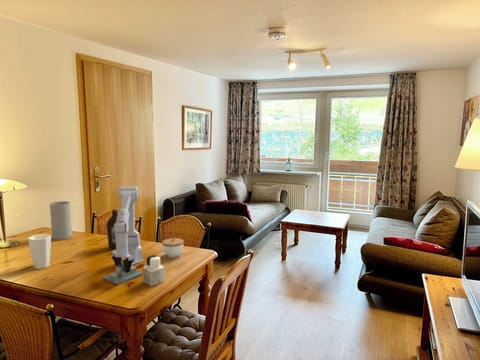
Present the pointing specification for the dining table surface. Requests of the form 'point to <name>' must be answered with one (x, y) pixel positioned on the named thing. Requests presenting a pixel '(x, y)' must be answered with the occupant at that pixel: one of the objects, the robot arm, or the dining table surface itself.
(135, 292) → the dining table surface
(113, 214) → the olive oil
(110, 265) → the dining table surface
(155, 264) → the container
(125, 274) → the box
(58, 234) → the cylinder vase
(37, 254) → the cup
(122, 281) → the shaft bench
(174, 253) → the lidded bowl
